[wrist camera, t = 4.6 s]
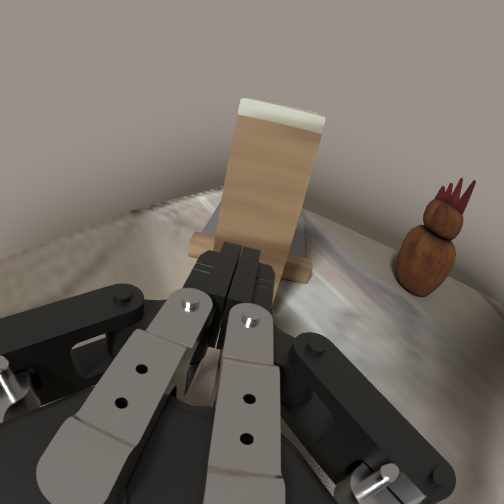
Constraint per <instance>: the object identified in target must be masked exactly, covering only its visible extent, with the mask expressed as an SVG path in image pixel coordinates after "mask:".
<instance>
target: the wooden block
mask: <svg viewBox="0 0 504 504" xmlns="http://www.w3.org/2000/svg"><path fill="white" fill-rule="evenodd" d="M325 120H326V118H325V117H323V116H322V115H320V114H318V113H315V112H311V111H307V110H303V109H299V108H295V107H291V106H287V105H283V104H278V103H274V102H269V101H264V100H260V99H254V98H242V99H241V101H240V106H239V111H238V116H237V121H236V126H235V131H234V136H233V141H232V146H231V152H230V157H229V162H228V167H227V172H226V178H225V184H224V189H223V194H222V200H221V206H220V211H219V217H218V223H217V229H216V235H215V241H214V247H213V251H215V252H220V250H221V248H222V246H223V243H224V241H225V242H229V243H233V244H237V245H241V246H242V249H243V246H246V247H250V248H254V249H258V250H261V253H260V258H259V263H263V264H267V265H271V266H272V268H273V270H274V272H275V282H274V291H273V301H272V305H273V302H274V299H275V295H276V292H277V289H278V286H279V282H280V279H281V276H282V273H283V269H284V266H285V263H286V259H287V256H288V253H289V249H290V246H291V243H292V239H293V236H294V232H295V229H296V226H297V222H298V219H299V215H300V212H301V208H302V205H303V201H304V198H305V194H306V190H307V187H308V183H309V180H310V176H311V172H312V169H313V165H314V161H315V158H316V154H317V150H318V146H319V143H320V139H321V135H322V131H323V127H324V124H325ZM242 249H241V252H242ZM240 256H241V254H240ZM239 259H240V258H239Z"/></svg>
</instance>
